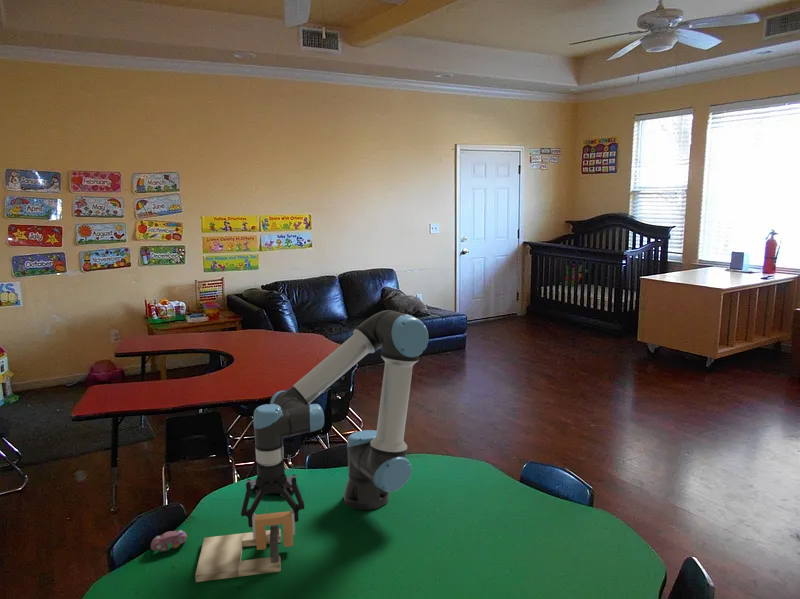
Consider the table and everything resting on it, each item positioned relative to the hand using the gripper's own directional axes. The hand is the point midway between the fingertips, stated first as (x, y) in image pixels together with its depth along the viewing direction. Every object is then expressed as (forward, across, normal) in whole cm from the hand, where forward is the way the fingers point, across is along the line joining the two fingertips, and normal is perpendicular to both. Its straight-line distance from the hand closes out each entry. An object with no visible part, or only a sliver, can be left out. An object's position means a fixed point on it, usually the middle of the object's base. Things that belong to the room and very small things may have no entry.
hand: (274, 534), depth 168 cm
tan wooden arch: (+3, 0, 0) cm, 3 cm away
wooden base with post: (+6, +10, 0) cm, 11 cm away
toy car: (+6, +1, -37) cm, 37 cm away
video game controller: (+6, +30, -9) cm, 32 cm away
